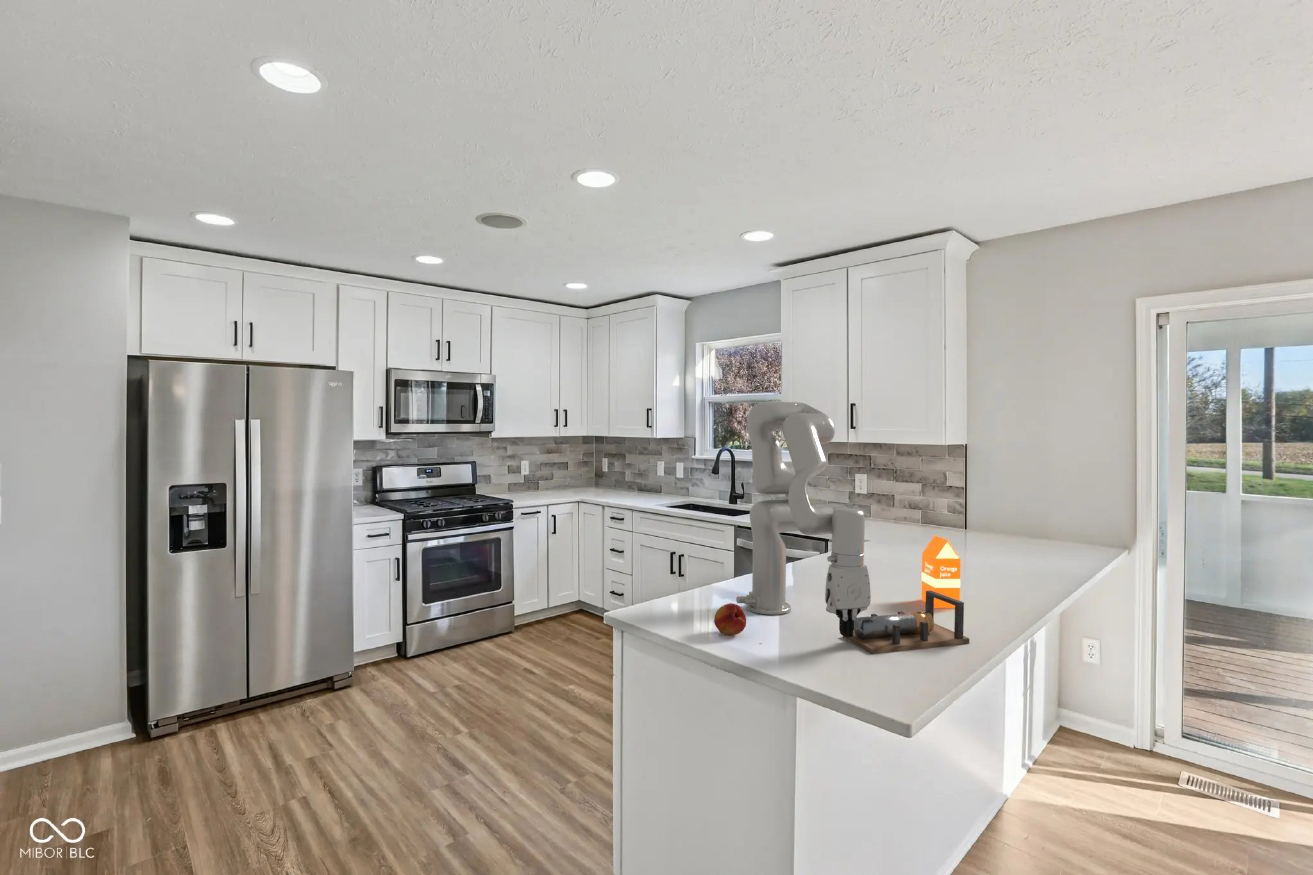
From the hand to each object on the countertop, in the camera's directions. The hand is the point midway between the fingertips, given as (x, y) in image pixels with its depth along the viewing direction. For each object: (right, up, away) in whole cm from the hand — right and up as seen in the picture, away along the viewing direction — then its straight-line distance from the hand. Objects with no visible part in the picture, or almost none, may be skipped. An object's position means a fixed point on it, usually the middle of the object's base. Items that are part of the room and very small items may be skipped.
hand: (846, 635), depth 153 cm
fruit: (-27, -3, +8) cm, 29 cm away
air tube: (+13, -2, +5) cm, 14 cm away
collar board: (+16, -3, +5) cm, 17 cm away
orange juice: (+40, -3, +38) cm, 55 cm away
